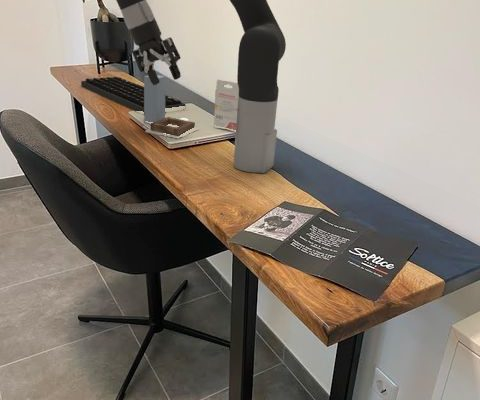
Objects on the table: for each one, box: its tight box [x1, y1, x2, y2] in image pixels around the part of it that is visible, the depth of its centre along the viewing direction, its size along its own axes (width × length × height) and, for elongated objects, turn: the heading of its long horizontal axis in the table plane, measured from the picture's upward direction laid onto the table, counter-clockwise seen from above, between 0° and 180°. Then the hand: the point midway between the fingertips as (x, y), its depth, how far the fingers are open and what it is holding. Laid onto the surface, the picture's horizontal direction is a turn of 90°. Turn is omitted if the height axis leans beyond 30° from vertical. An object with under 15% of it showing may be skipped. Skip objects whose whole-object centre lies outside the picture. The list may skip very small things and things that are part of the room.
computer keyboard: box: [80, 76, 186, 112], centre depth 175 cm, size 45×16×4 cm, turn 42°
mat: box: [144, 128, 180, 140], centre depth 143 cm, size 11×12×1 cm
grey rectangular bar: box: [143, 74, 166, 122], centre depth 147 cm, size 4×4×14 cm
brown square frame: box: [150, 116, 196, 136], centre depth 143 cm, size 9×9×2 cm
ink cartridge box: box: [213, 79, 239, 130], centre depth 147 cm, size 9×5×15 cm, turn 62°
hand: (167, 81), depth 133 cm, fingers open, 8 cm apart
